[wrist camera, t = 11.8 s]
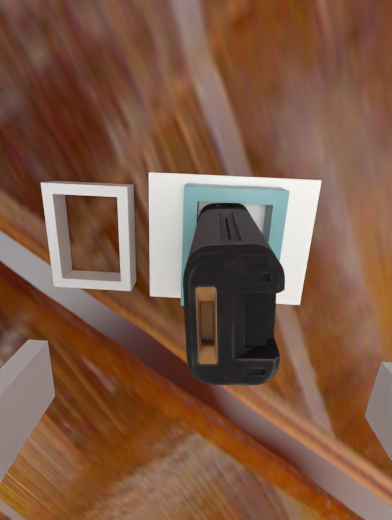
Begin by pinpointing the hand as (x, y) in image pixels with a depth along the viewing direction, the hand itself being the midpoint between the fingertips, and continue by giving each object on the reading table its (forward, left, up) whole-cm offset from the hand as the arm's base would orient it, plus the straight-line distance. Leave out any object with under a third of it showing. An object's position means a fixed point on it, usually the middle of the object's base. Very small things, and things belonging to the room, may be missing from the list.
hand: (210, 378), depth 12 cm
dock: (+2, -2, -27) cm, 27 cm away
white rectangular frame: (-15, -2, -27) cm, 31 cm away
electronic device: (+2, -1, -26) cm, 26 cm away
